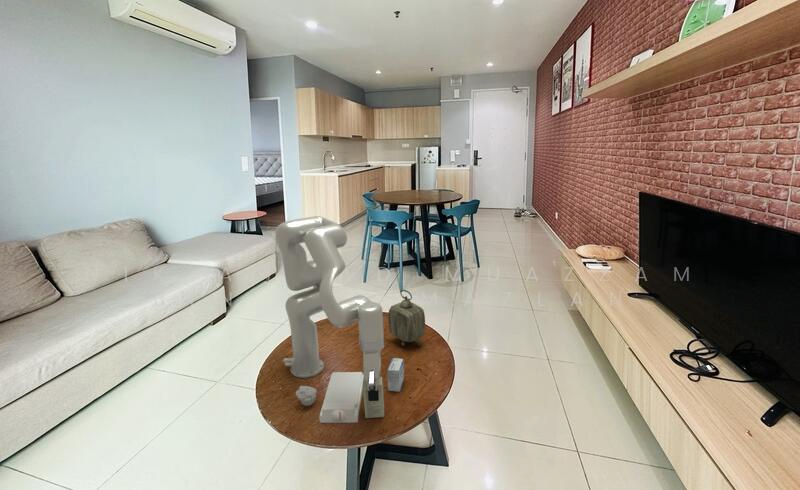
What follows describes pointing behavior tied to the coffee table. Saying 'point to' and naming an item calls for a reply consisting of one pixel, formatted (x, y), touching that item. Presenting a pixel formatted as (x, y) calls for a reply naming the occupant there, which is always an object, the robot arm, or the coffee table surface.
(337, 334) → the coffee table surface
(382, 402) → the skincare box
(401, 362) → the medicine box
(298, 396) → the grey lumpy chunk
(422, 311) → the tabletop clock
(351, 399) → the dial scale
